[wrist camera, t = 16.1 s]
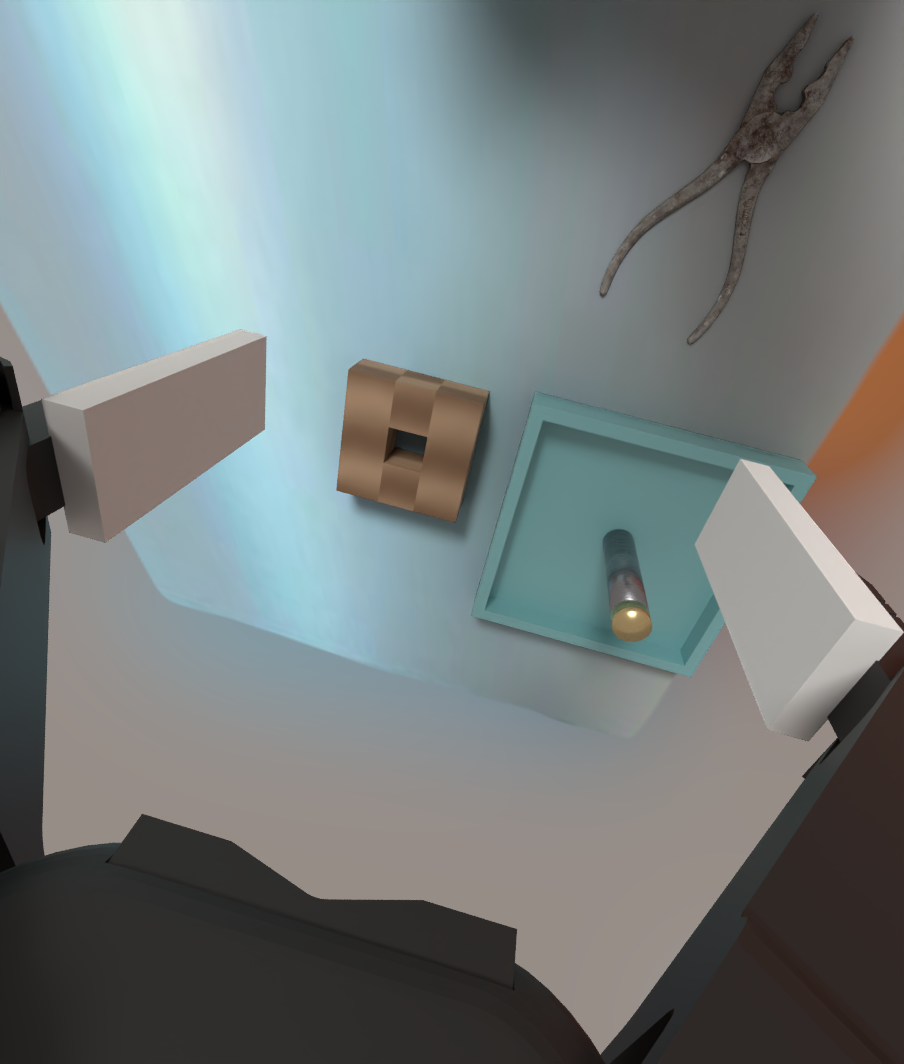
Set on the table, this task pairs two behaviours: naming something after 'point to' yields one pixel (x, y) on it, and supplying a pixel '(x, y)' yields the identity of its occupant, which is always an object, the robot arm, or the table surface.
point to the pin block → (416, 407)
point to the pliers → (748, 158)
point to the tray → (602, 506)
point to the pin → (625, 587)
